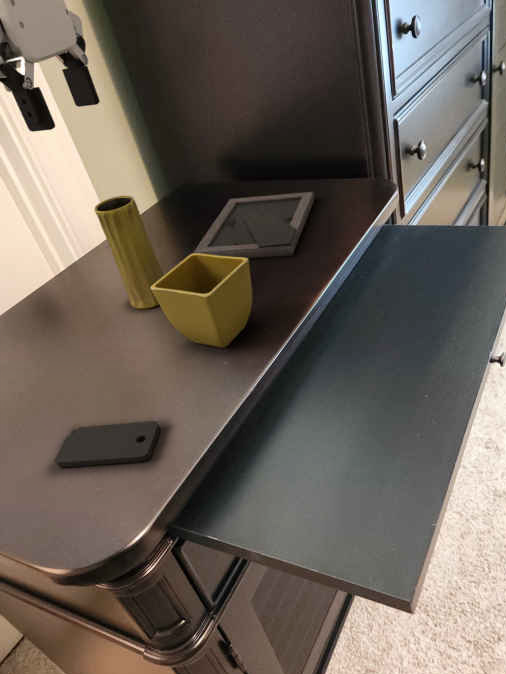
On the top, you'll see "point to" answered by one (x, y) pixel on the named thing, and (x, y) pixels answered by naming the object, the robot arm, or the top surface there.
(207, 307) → the flower pot
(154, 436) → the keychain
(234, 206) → the picture frame
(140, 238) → the vase
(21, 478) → the top surface
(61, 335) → the top surface
